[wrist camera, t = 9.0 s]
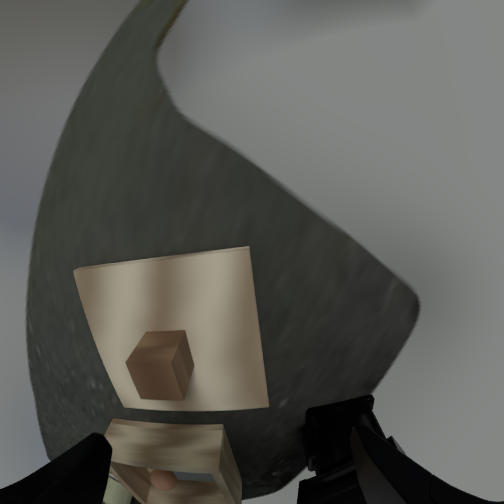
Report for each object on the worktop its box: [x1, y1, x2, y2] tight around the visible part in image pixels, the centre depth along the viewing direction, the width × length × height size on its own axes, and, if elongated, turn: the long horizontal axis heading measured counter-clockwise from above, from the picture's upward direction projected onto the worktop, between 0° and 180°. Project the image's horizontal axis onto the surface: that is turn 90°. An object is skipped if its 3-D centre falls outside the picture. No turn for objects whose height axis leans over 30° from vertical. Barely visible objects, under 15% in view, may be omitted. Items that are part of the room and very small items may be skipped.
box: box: [104, 418, 242, 504], centre depth 20 cm, size 12×12×6 cm
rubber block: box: [173, 471, 215, 481], centre depth 20 cm, size 4×4×3 cm
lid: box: [73, 246, 269, 411], centre depth 17 cm, size 13×13×6 cm
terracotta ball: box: [150, 469, 177, 491], centre depth 21 cm, size 3×3×3 cm
